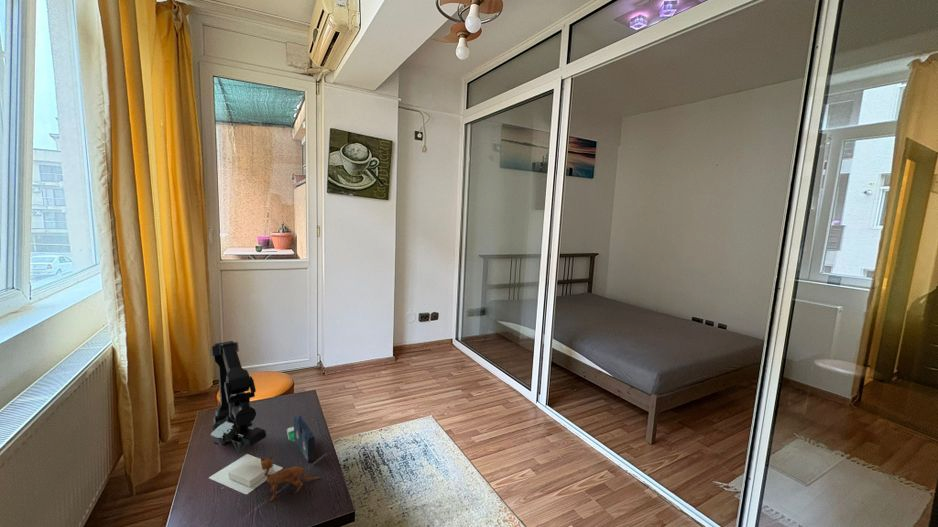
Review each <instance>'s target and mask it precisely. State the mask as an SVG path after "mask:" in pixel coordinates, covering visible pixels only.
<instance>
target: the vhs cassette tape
mask: <svg viewBox="0 0 938 527" xmlns="http://www.w3.org/2000/svg"><path fill="white" fill-rule="evenodd" d="M293 427H294V440H295V443H296V445H297V447H298V448H299V450H300V452H301V453H302V455H303V457H304V459H305V460H306V462H307V463H310V462H313V461H315V453H316V452H315V440H316V439H315V438H316V437H315V436H314V434H313V432H312V431H311V429H310V428H309V426H308V425H307V423H306V422H305V421H304V419H303V417H302V416H301V415H300V414H299V415H296V416H294V417H293Z"/></svg>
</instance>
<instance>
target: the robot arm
mask: <svg viewBox="0 0 938 527" xmlns="http://www.w3.org/2000/svg"><path fill="white" fill-rule="evenodd" d="M238 342H239V341H235V342H234V340H230V341H224V342H218V343H217V342H216V343H213V346H210V348H209V350H210V351H209V352H210V357H212V360H213V361H214V362H215V363H216V364H217V368H218V386H219V404H218V405H217V408H216V409H215V415H214V417H213V420H212V432H211V433H210V437H211V438H212V440H213V442H214V444H216V445H222V446H223V447H225V446H228V445H229V444H231V443H232V444H233V446H234V449H235V450H236V454H238V455H241V454H243V452H244V450H245V448H246V446H254V445H255V444H257V443H258V442H259V443H260V441H262V440H264V439H265V438H266V437H267V430H265V429H262V427H257V426H256V427H254V428H253V427H252V426H253V421H254V420H255V418H256V417H257V411H256V408H254V406H253V404H252V402H251V398H255V396H256V395H255V394H256V391H257V390H256V385H255V380H254V379H253V377H252V376H250V374H249V371H248V370H247V369H245V368H243V367H242V364H241V360H240V358H239V354H238V352H239V351H240V349H239V343H238Z"/></svg>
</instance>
